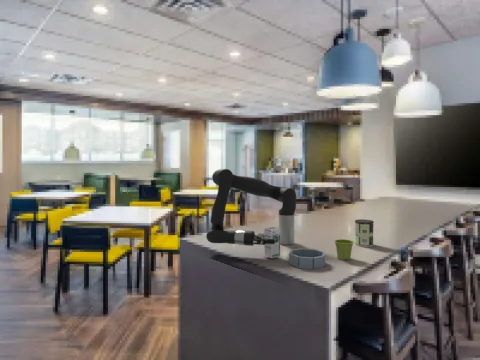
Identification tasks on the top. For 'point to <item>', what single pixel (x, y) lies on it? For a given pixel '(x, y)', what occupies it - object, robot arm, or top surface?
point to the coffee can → (364, 233)
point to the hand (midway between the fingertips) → (276, 239)
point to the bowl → (307, 258)
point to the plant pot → (343, 248)
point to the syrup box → (272, 249)
